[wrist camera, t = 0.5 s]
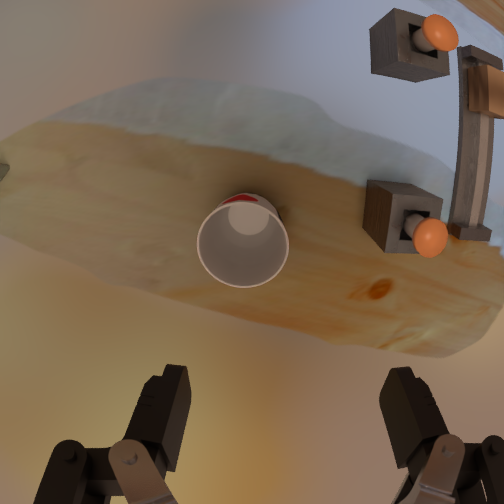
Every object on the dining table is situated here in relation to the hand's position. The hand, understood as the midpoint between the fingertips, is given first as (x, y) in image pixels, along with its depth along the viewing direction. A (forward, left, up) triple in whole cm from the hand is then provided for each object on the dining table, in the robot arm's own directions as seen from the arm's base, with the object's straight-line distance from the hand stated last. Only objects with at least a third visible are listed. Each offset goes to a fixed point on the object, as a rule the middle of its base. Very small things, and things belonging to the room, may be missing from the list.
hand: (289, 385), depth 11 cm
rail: (-11, +27, -27) cm, 40 cm away
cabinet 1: (-20, +14, -27) cm, 36 cm away
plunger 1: (-20, +14, -19) cm, 31 cm away
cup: (+1, -3, -27) cm, 27 cm away
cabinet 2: (-1, +14, -27) cm, 30 cm away
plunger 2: (-1, +14, -19) cm, 24 cm away
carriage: (-18, +27, -26) cm, 41 cm away
